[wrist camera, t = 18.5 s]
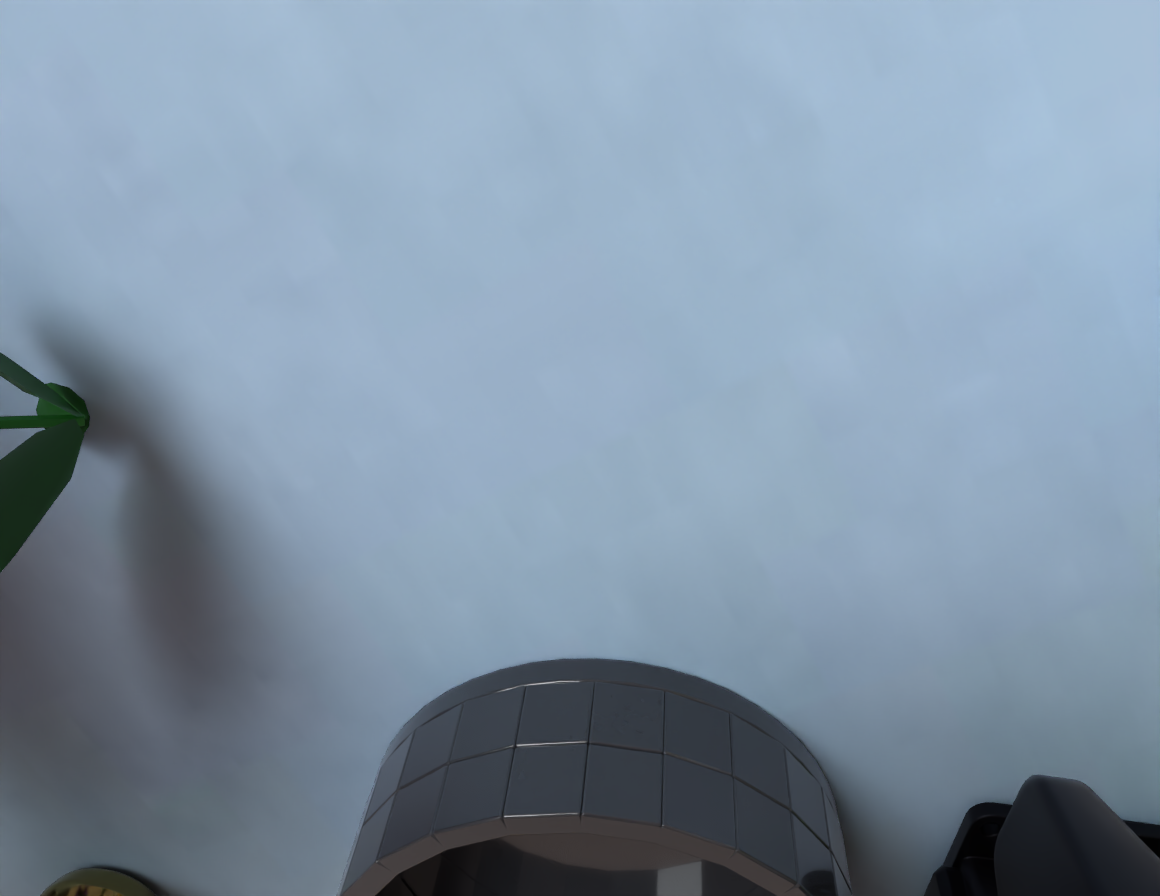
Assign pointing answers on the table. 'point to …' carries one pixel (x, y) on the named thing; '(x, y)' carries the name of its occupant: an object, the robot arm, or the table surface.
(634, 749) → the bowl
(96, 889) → the cup
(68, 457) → the flower
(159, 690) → the table surface
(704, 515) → the table surface
